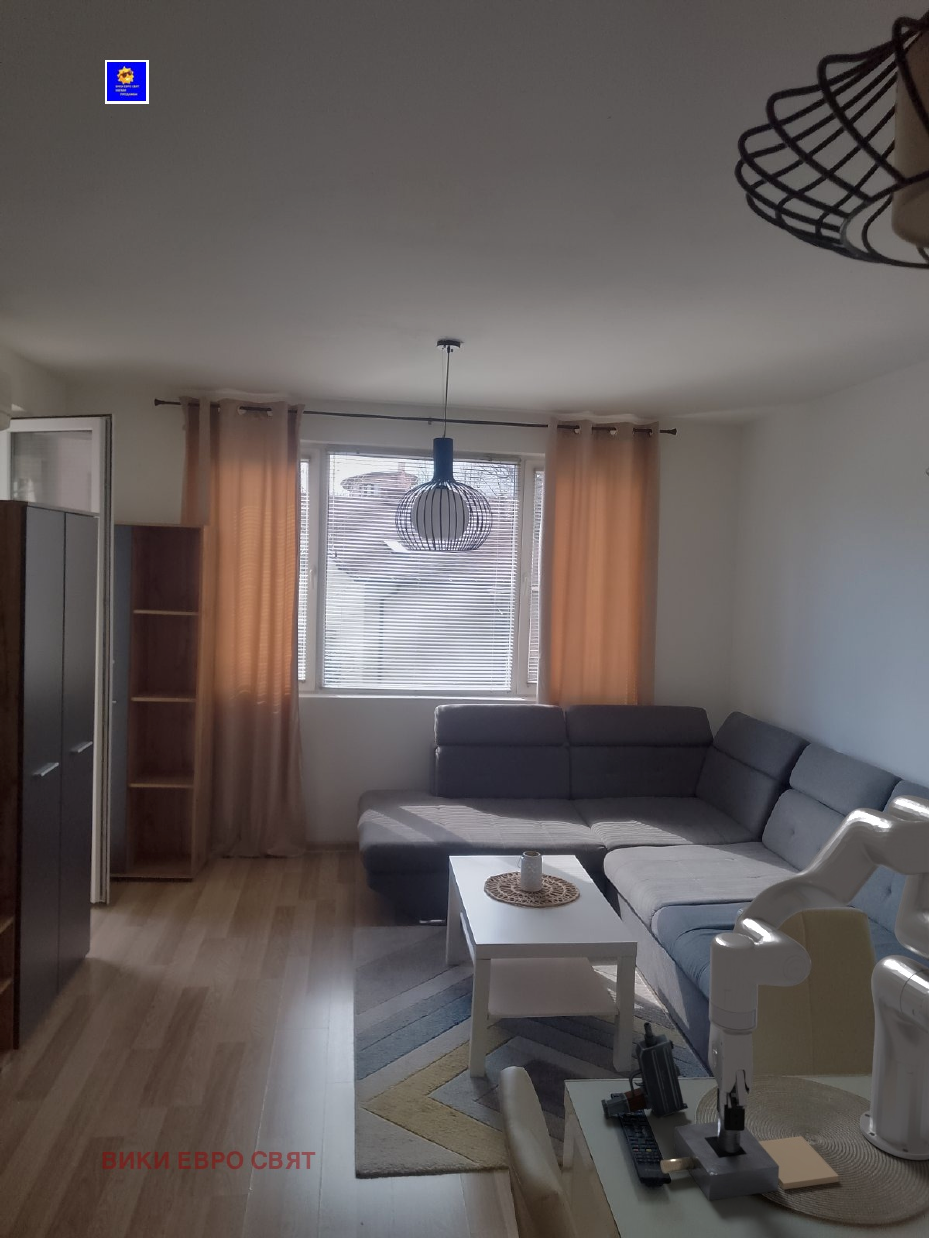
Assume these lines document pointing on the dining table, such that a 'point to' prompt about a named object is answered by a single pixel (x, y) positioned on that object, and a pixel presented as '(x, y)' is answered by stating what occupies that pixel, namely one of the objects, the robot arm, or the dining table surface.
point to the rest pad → (798, 1163)
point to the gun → (651, 1080)
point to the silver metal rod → (726, 1137)
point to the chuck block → (722, 1162)
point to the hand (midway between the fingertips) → (730, 1119)
